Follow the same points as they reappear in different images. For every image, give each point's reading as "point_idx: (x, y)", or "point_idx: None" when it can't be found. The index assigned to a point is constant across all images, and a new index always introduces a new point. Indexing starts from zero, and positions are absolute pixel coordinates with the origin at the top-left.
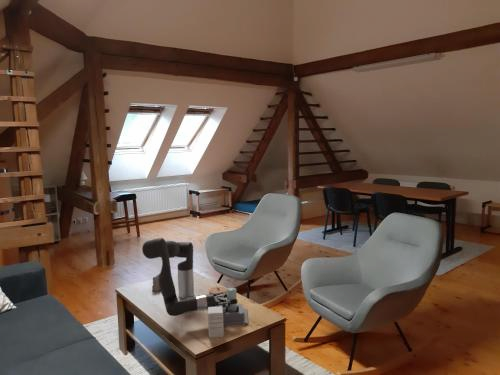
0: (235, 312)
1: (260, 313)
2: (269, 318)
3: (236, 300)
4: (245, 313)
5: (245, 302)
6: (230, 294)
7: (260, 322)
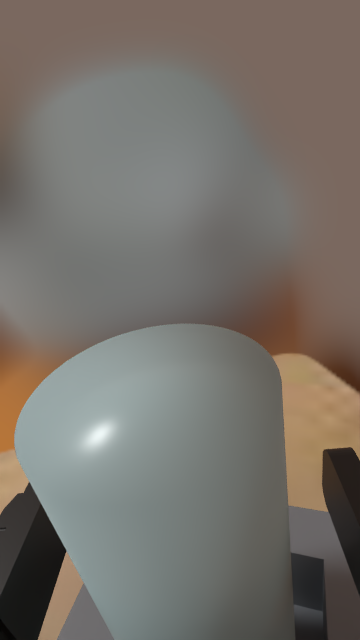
0: (343, 618)
1: None
2: (293, 391)
3: (354, 467)
4: None
5: (6, 475)
6: (282, 491)
7: (352, 442)
